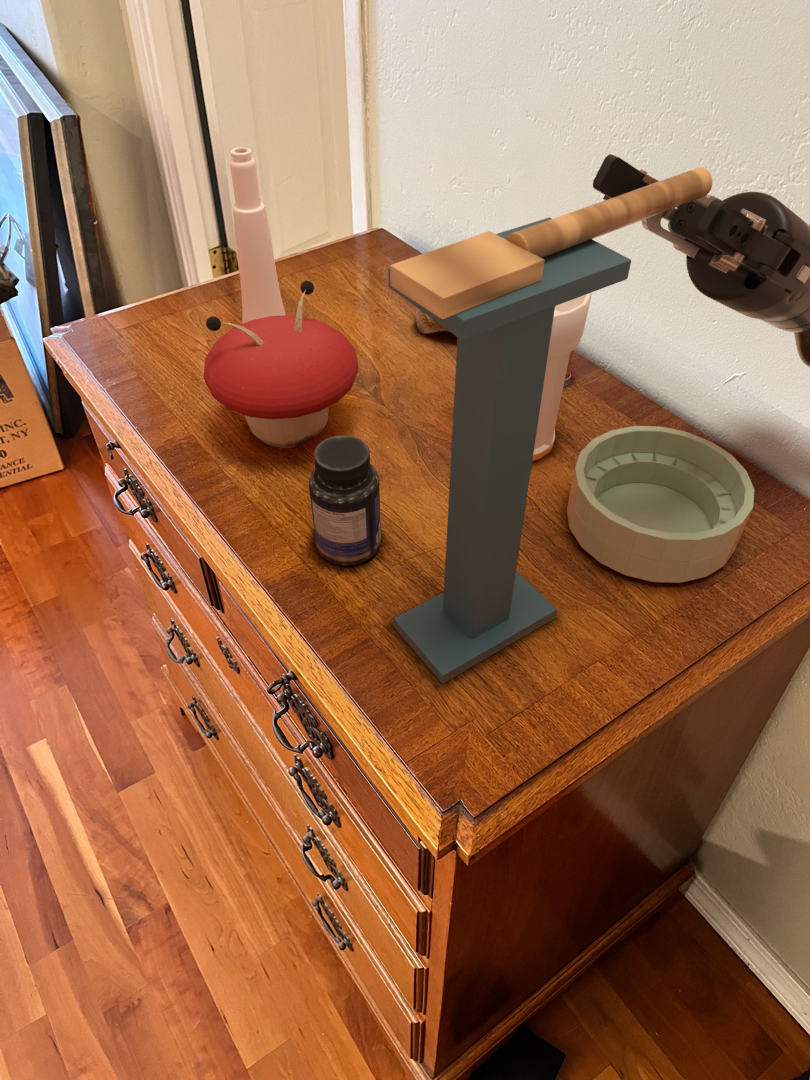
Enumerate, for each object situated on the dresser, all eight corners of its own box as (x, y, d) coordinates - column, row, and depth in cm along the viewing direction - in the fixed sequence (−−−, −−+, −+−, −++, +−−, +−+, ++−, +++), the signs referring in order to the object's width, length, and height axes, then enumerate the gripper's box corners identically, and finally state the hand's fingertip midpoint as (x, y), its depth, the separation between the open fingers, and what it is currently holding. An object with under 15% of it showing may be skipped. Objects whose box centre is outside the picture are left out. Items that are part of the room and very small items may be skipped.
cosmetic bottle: (253, 351, 97) (224, 164, 82) (235, 328, 101) (204, 146, 86) (298, 337, 100) (278, 154, 84) (278, 316, 103) (256, 137, 88)
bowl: (769, 541, 74) (791, 493, 70) (652, 613, 68) (669, 566, 64) (646, 454, 83) (658, 407, 79) (533, 511, 77) (540, 463, 73)
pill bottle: (344, 513, 77) (337, 420, 69) (394, 539, 74) (393, 446, 67) (302, 550, 73) (289, 457, 66) (353, 578, 71) (347, 485, 63)
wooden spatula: (669, 185, 53) (676, 157, 51) (725, 208, 50) (734, 178, 49) (390, 285, 43) (389, 253, 41) (442, 320, 40) (443, 286, 39)
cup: (561, 477, 81) (589, 323, 68) (451, 463, 82) (459, 310, 70) (567, 413, 88) (594, 264, 76) (467, 401, 90) (477, 253, 78)
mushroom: (315, 371, 94) (303, 249, 84) (389, 438, 85) (387, 311, 75) (192, 416, 88) (163, 291, 77) (258, 494, 79) (235, 364, 68)
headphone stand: (555, 618, 68) (631, 259, 45) (442, 684, 63) (463, 320, 40) (503, 568, 72) (549, 216, 49) (393, 627, 67) (387, 267, 44)
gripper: (714, 181, 62) (601, 98, 51) (880, 248, 54) (790, 166, 42) (661, 272, 65) (544, 213, 54) (811, 349, 57) (710, 298, 45)
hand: (652, 193), depth 48 cm, fingers open, 8 cm apart
